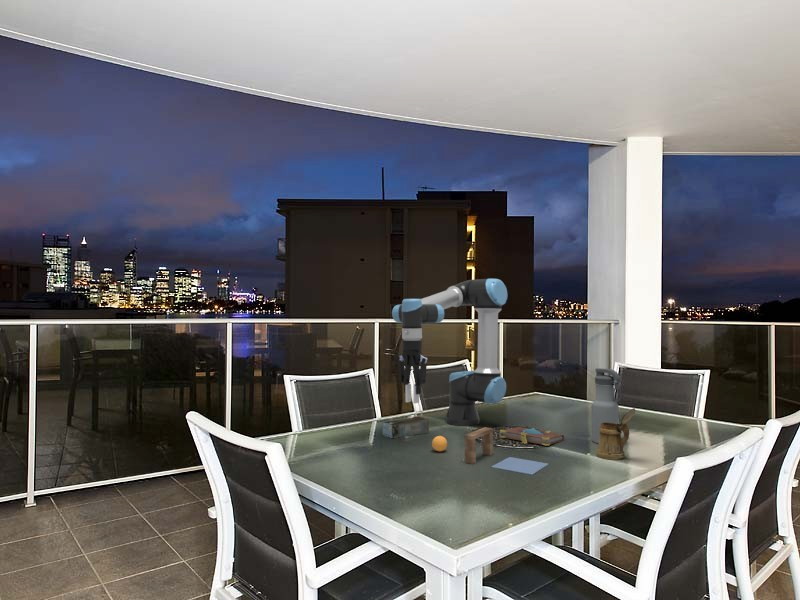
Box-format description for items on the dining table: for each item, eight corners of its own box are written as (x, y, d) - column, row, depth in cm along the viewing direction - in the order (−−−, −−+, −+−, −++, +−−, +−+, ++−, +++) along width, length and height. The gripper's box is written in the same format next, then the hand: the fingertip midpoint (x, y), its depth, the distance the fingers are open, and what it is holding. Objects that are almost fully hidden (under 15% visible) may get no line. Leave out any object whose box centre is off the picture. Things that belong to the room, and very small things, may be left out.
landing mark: (509, 457, 185) (509, 456, 185) (548, 464, 176) (548, 463, 176) (491, 467, 173) (491, 466, 173) (532, 474, 165) (532, 474, 165)
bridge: (464, 462, 179) (464, 435, 179) (485, 453, 191) (484, 427, 191) (472, 464, 177) (472, 436, 177) (492, 454, 189) (492, 428, 189)
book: (510, 433, 226) (510, 421, 226) (565, 443, 209) (565, 430, 209) (488, 438, 214) (488, 426, 214) (545, 449, 197) (545, 435, 197)
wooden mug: (629, 464, 176) (628, 409, 176) (591, 456, 186) (590, 404, 187) (642, 459, 181) (641, 406, 182) (604, 451, 192) (604, 401, 192)
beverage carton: (381, 436, 219) (381, 420, 219) (419, 430, 229) (419, 415, 229) (392, 439, 212) (391, 423, 212) (430, 433, 223) (429, 418, 223)
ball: (437, 448, 197) (437, 433, 197) (450, 450, 194) (450, 435, 194) (429, 451, 193) (429, 436, 193) (442, 454, 189) (442, 438, 190)
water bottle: (624, 442, 205) (623, 369, 206) (614, 446, 198) (613, 371, 199) (598, 437, 212) (597, 367, 213) (587, 442, 205) (586, 369, 206)
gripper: (389, 339, 203) (389, 401, 202) (424, 340, 193) (424, 405, 193) (400, 338, 209) (401, 398, 209) (435, 339, 199) (435, 403, 199)
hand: (412, 402), depth 201 cm, fingers open, 3 cm apart
